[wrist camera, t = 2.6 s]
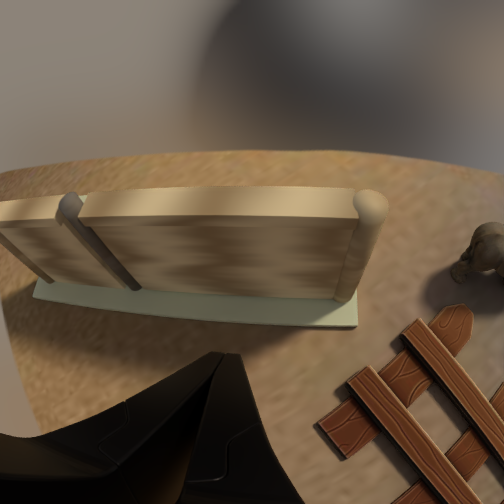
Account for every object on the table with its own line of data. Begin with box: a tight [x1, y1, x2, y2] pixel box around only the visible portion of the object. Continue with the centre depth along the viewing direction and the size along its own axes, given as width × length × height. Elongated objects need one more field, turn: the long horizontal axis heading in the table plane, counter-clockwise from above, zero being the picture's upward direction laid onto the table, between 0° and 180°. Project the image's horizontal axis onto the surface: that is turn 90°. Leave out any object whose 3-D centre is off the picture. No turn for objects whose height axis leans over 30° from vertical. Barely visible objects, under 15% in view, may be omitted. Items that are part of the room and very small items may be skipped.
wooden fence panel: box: [0, 192, 142, 291], centre depth 21 cm, size 12×2×11 cm, turn 85°
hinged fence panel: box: [78, 186, 389, 303], centre depth 19 cm, size 16×2×10 cm, turn 84°
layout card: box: [32, 195, 358, 327], centre depth 27 cm, size 30×12×1 cm, turn 85°
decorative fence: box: [317, 303, 504, 504], centre depth 15 cm, size 23×2×15 cm
